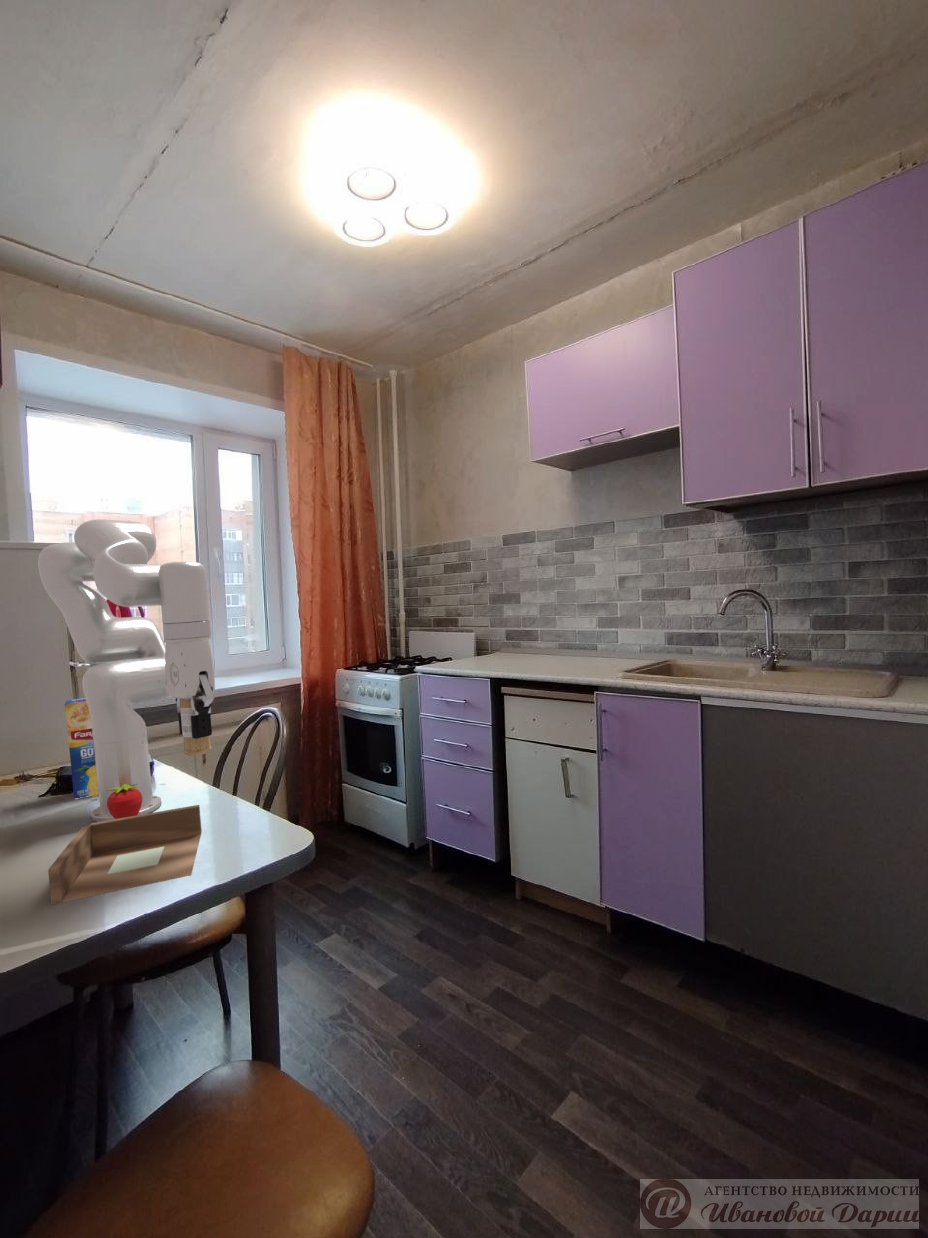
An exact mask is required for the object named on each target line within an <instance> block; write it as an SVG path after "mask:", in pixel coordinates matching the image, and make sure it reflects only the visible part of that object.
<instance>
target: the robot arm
mask: <svg viewBox="0 0 928 1238" xmlns="http://www.w3.org/2000/svg"><path fill="white" fill-rule="evenodd" d="M73 539H74V542H70V541H69V542H60V543H59V542H57V543H54V544H53V543H52V544H50V545H48V546H46V547H44V548H43V549H42V550H41V551H40V552H39V554H38V560H37V565H38V566H37V567H38V574H39V577H40V580H41V583H42V585H43V588H44V590H45V592H46V593H47V595H48V596H49V597H50V599H51V600H52V601H53V603H55V605H56V607H57V608H58V609H59V611H60V613H62V616H63V618H64V621H65V623H66V626H67V629H68V632H69V634H70V637H71V639H72V642H73V643H74V647H75V649H76V651H77V653H78V655H79V656H80V659H82V660H83V661H84V662H86V663H88V664H94V665H93V666H91V667H90V668H89V669H87V670H86V672H85V673H84V674H83V677H82V682H81V684H82V691H83V695H84V698H86V701H87V705H88V708H89V712H90V717H91V723H92V731H93V741H94V751H95V761H96V772H97V783H98V793H99V795H98V800H99V801H98V802H99V803H98V804H99V807H97V808H95V809H94V810H93V811H92V812H91V813H90V814H91V816H90V817H91V819H92V821H93V822H95V823H96V822H102V821H107V820H113V819H115V818H114V817H113V816H112V815H111V814H110V812H109V810H108V807H107V799H108V797H109V796H110V794H112V793H113V792H115V791H106V790H109V789H113V788H117V787H118V788H120V787H121V786H122V785H123V784H126V785H133V784H137V785H135V786H133V787H136V788H135V789H138V790H139V791H140V792H141V795H142V798H143V799H142V805H141V809H140V811H139V813H138V815H142V814H148V813H153V811H155V810H157V809H158V808H160V806H161V805H162V798H161V797H160V796H157V795H153V786H152V777H151V766H150V765H151V764H150V763H151V762H150V754H149V743H148V732H147V725H146V722H145V720H144V719H143V717H142V716H141V715H140V714H138V713H137V712H136V711H135V709H133V707H132V706H133V705H137V704H141V703H146V702H152V701H157V700H162V699H165V698H169V697H172V698H175V702H176V710H177V717H178V728H179V730H178V731H179V735H181V736H183V733H182V722H181V710H180V707H181V705H180V699H190V702H191V707H192V713H193V716H191V728H192V738H194V739H197V738H201V737H206V736H210V737H211V736H212V734H213V730H212V718H211V713H212V707H211V706H212V704H213V701H214V699H215V696H214V693H215V690H216V684H215V682H216V681H215V671H214V663H213V655H212V650H211V649H212V648H211V645H210V640H212V630H211V629H212V628H211V617H210V615H211V614H210V606H209V591H208V590H209V589H208V581H207V569H206V567H205V566H204V565H203V564H202V563H200V562H197V561H172V562H166V563H163V564H161V563H160V564H159V563H158V564H157V563H149V561H151V559H152V558H153V556H154V555H155V552H156V549H157V540H156V536H155V533H154V531H153V530H152V529H151V528H150V527H149V526H148V525H146V524H145V523H142V522H140V521H129V520H115V519H101V518H100V519H99V518H98V519H91V520H88V521H85V522H82V523H81V524H80V525H79V526H78V527H77V528H76V529H75V531H74V537H73ZM84 582H94V584H95V586H96V589H97V590H98V591H97V590H94V589H93V588H91V587H90V586H88V585H87V584H85V583H84ZM103 596H104V597H103ZM105 598H106V599H107V600H108V601H110V602H111V603H113V604H114V605H117V606H120V607H123V608H138V607H150V606H151V607H154V606H160V608H161V609H160V610H161V619H162V632H163V636H162V633H161V632H160V629H159V628H158V626H157V625H156V623H154V622H153V620H150V618H147V617H142V616H129V617H128V616H127V617H117V616H115V615H114V614H113V613H112V611H111V608H110V606H109V603H108V602H107V600H106V599H105ZM196 693H202V695H203V696H198V697H195V695H196ZM197 700H201V701H199V703H198V705H197V702H196V701H197ZM118 778H119V779H120V780H119V779H118ZM121 780H122V781H123V782H122V781H121Z"/></svg>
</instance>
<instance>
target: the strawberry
mask: <svg viewBox="0 0 928 1238" xmlns="http://www.w3.org/2000/svg"><path fill="white" fill-rule="evenodd" d="M118 779H119V778H118ZM119 780H120V779H119ZM121 781H122V780H121ZM122 782H123V781H122ZM135 785H137V784H133V785H126V784H123V785H122V786H121V787H120V788H118V787H117V788H113V789H109V790H106V791H115V792H113V793H112V794H110V796H109V797H108V799H107V807H108V810H109V812H110V814H111V815H112V816H113V817H114V818H115V819H119V818H125V817H131V816H136V815H138V813H139V811H140V809H141V805H142V799H143V798H142V795H141V792H140V791H139V790H138V789H135V788H136V787H133V786H135Z"/></svg>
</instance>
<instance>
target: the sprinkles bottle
mask: <svg viewBox="0 0 928 1238" xmlns="http://www.w3.org/2000/svg"><path fill="white" fill-rule="evenodd" d="M198 696H203V695H202V693H196V695H195V697H198ZM199 701H201V700H197V701H196V702H197V705H198V703H199ZM180 705H181V707H180V710H181V712H180V713H181V722H182V733H183V735H182V738H183V747H184V751H183V754H184V755H186V756H189V757H190V756H200V755H204V754H207V753H209V752H211V750H212V745H211V735H210V736H206V737H201V738H197V739H194V738H192V728H191V716H193V713H192V707H191V702H190V699H180Z"/></svg>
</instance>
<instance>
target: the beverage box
mask: <svg viewBox="0 0 928 1238" xmlns="http://www.w3.org/2000/svg"><path fill="white" fill-rule="evenodd" d="M64 709H65V716H66V718H65V719H66V727H67V728H66V729H67V739H68V749H69V758H70V760H69V761H70V769H71V770H70V772H71V781H72V788H73V789H72V791H73V799H74V798H80V797H86V796H92V797H96V796H99V793H98V783H97V772H96V761H95V751H94V741H93V731H92V723H91V717H90V712H89V708H88V705H87V701H86V698H85V697H84V698H76V699H75V698H74V699H70V700H69V699H67V700H66V701H65V703H64Z"/></svg>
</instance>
